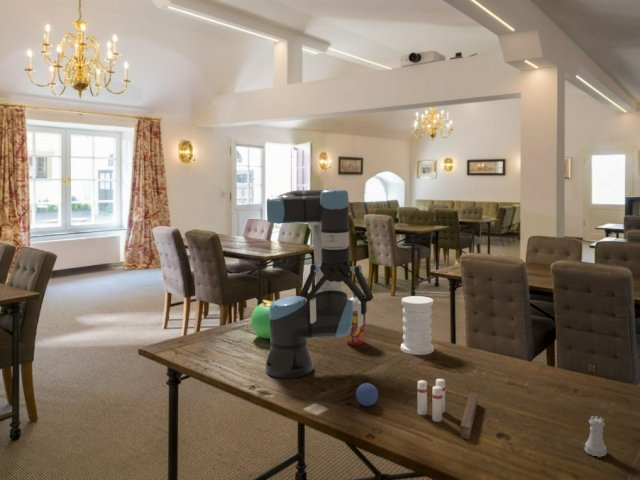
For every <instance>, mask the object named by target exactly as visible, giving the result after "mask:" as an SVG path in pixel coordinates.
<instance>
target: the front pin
mask: <svg viewBox="0 0 640 480" xmlns="http://www.w3.org/2000/svg"><path fill="white" fill-rule="evenodd" d="M427 414H428V381H426V380H424V379H420V380H418V381H417V415H420V416H426V415H427Z"/></svg>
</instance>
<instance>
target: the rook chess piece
mask: <svg viewBox="0 0 640 480" xmlns="http://www.w3.org/2000/svg"><path fill="white" fill-rule="evenodd" d="M588 423H589V425H590V427H589V430H590V431H589V432H590V433H589V436H588V439H587V440H586V442H585V444H584V451H585V452H586V453H587V454H588V455H589V454H590V455H589V456H591V455H592V457H594V456H597V457H596V458H603V457H605V456H606V455H607V450H608V449H607V446H606V445H605V442H604V438H603V437H604V435H603V434H604V433H603V432H604V429H603V428H604V427H605V425H606V423H605V421H604V418H602V417H598V415H595V416H594V415H592V416H591V417H590V419H589V420H588ZM602 456H603V457H602Z"/></svg>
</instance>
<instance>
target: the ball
mask: <svg viewBox="0 0 640 480" xmlns="http://www.w3.org/2000/svg"><path fill="white" fill-rule="evenodd" d="M355 397H356V400H357V402H358V403H359V404H360V405H361V406H364V407H371V406H373V405H374V404H375V403H376V402H377V400H378V397H379V392H378V389H377V387H376V386H375V385H373V384H372V383H370V382H369V383H368V382H365V383H362V384H360V385H359V386H358V387H356V391H355Z"/></svg>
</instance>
